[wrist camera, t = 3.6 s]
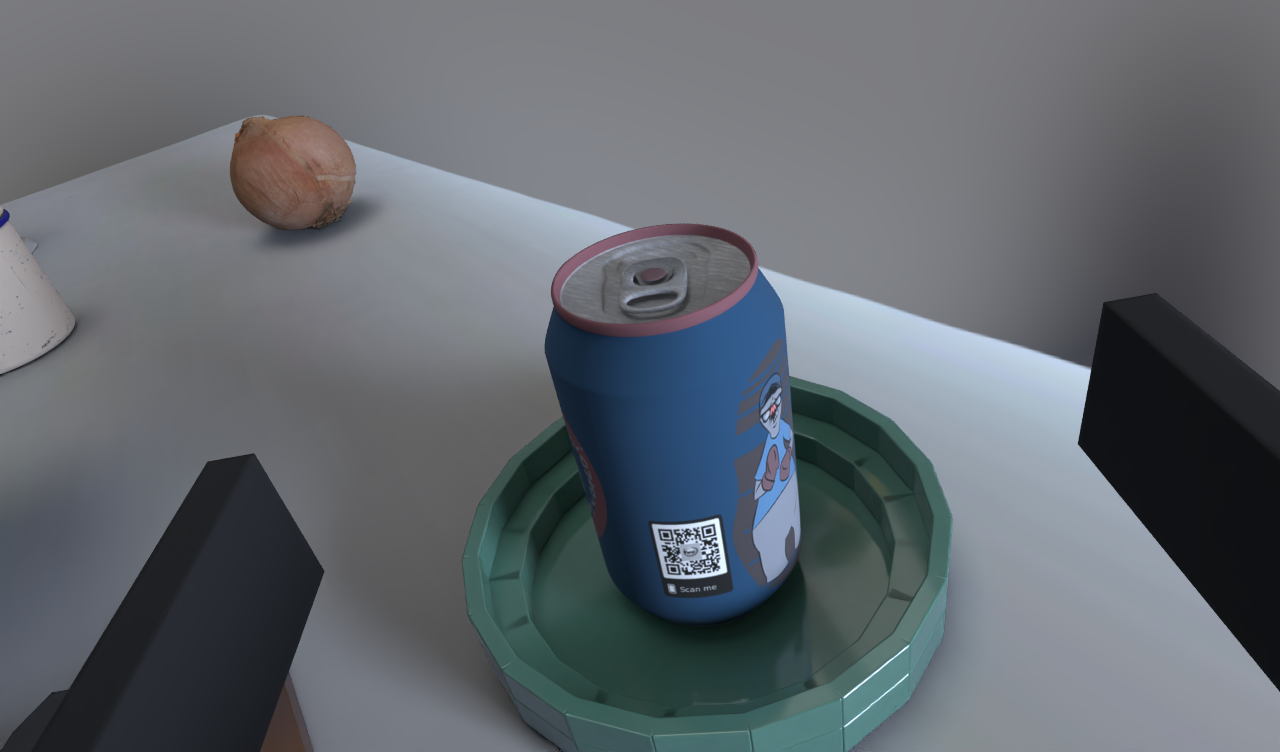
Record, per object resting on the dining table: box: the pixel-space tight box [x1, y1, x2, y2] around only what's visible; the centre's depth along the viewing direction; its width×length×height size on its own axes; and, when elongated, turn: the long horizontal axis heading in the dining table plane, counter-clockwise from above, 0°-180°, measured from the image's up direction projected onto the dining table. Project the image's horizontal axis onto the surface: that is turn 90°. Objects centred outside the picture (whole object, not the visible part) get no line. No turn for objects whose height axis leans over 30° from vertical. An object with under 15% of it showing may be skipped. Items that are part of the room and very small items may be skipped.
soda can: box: [545, 224, 802, 627], centre depth 25 cm, size 7×7×12 cm
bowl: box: [462, 376, 953, 752], centre depth 28 cm, size 16×16×3 cm
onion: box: [230, 116, 356, 230], centre depth 63 cm, size 10×9×10 cm
